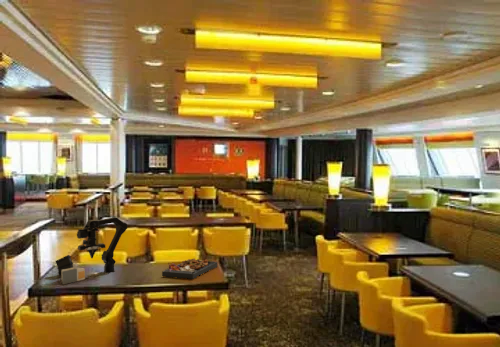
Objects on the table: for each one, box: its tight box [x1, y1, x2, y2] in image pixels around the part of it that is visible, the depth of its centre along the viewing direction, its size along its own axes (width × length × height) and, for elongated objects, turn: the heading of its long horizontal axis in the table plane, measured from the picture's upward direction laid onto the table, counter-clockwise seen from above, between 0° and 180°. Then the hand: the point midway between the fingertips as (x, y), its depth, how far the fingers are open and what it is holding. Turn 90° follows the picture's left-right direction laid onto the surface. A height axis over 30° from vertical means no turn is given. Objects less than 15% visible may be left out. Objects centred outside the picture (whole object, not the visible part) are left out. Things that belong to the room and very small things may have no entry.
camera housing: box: [61, 266, 86, 282], centre depth 350 cm, size 13×10×8 cm
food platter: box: [161, 257, 218, 280], centre depth 378 cm, size 45×25×10 cm, turn 161°
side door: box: [61, 263, 79, 285], centre depth 341 cm, size 11×3×12 cm, turn 146°
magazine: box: [54, 254, 74, 277], centre depth 364 cm, size 4×13×15 cm, turn 78°
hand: (91, 258), depth 367 cm, fingers closed
